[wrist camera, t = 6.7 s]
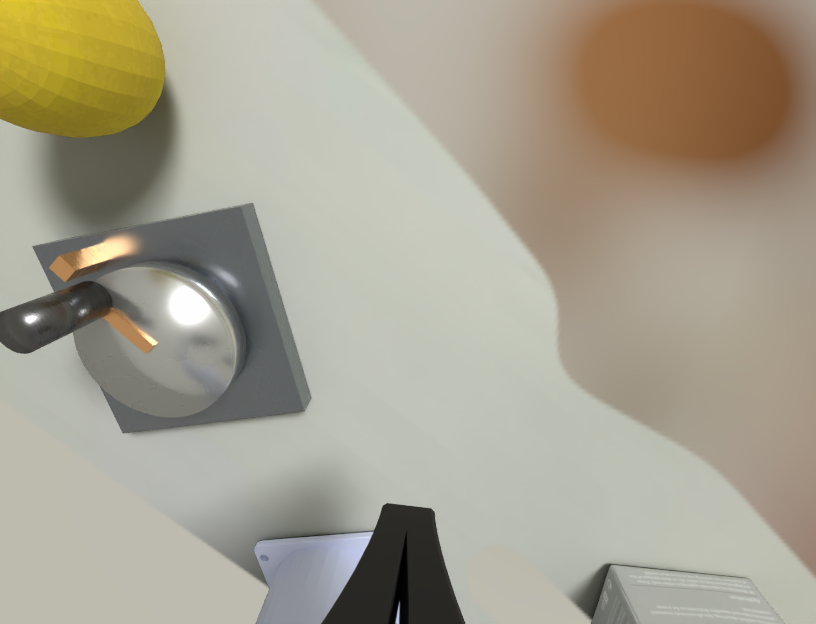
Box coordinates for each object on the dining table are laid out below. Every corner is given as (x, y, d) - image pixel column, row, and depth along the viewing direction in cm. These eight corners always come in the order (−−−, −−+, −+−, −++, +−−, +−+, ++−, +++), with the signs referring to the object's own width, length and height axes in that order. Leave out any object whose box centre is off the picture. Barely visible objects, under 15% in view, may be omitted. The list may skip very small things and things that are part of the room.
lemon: (206, 149, 18) (44, 148, 11) (80, 128, 18) (-168, 113, 11) (204, -5, 16) (4, -135, 9) (62, -28, 16) (-254, -175, 9)
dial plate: (311, 398, 22) (292, 433, 19) (138, 420, 24) (97, 456, 21) (252, 202, 19) (219, 211, 16) (54, 241, 20) (-8, 255, 18)
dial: (212, 245, 18) (132, 277, 14) (267, 387, 21) (216, 456, 16) (71, 278, 19) (-47, 319, 15) (139, 410, 22) (55, 481, 17)
